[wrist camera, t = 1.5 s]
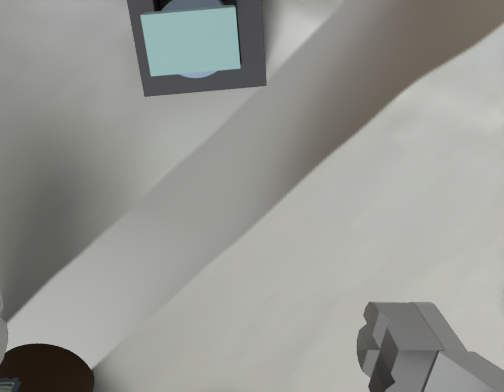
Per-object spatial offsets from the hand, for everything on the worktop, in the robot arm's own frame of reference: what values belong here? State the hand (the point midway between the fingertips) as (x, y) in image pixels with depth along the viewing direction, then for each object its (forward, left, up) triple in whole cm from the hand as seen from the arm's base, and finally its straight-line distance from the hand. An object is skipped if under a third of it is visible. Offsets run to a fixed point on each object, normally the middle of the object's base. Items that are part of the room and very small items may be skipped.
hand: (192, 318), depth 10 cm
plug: (0, -4, -25) cm, 25 cm away
